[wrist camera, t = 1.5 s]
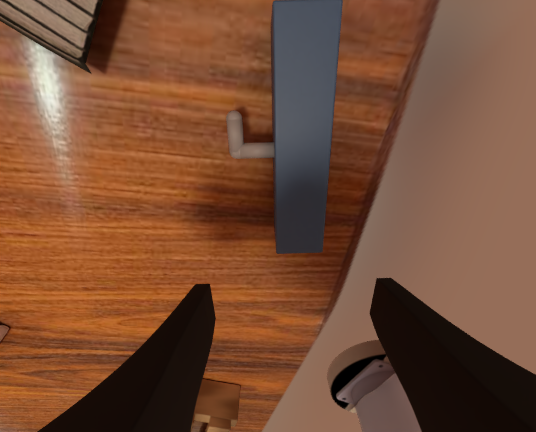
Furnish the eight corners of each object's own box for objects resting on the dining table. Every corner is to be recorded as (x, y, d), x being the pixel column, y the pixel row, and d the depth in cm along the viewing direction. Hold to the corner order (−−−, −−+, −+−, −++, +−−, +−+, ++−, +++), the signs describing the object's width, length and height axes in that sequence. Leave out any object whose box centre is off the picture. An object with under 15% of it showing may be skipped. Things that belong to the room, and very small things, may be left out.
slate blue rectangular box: (323, 23, 13) (343, -3, 10) (312, 225, 18) (322, 252, 15) (225, 26, 13) (211, 1, 10) (241, 227, 18) (236, 255, 15)
